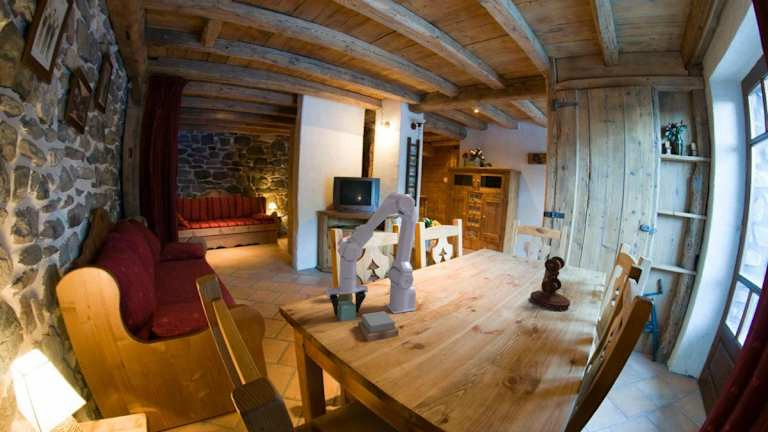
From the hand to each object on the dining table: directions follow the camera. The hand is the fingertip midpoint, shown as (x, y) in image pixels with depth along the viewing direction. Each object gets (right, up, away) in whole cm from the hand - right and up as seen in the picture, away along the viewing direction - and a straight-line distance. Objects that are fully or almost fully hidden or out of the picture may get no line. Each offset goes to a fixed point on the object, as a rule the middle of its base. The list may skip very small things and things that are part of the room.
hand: (346, 313), depth 106 cm
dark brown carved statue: (+83, -3, +22) cm, 86 cm away
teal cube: (0, -2, 0) cm, 2 cm away
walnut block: (+11, -4, -8) cm, 14 cm away
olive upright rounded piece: (-2, +1, +15) cm, 16 cm away
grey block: (+11, -1, -8) cm, 14 cm away
